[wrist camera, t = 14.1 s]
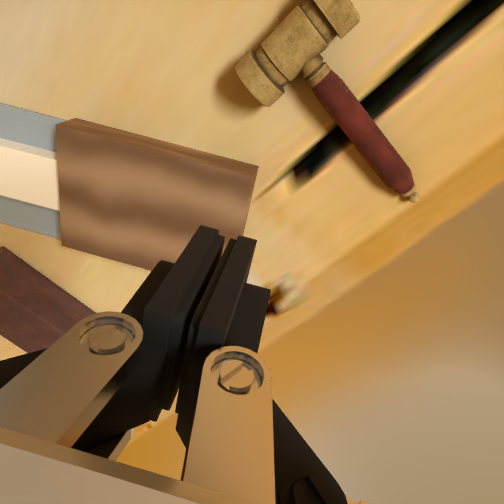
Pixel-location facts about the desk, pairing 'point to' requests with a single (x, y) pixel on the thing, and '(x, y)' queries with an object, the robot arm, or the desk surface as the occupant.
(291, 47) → the gavel
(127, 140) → the brown wooden board
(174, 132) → the desk surface
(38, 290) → the notebook
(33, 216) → the mat
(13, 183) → the cream flat block
